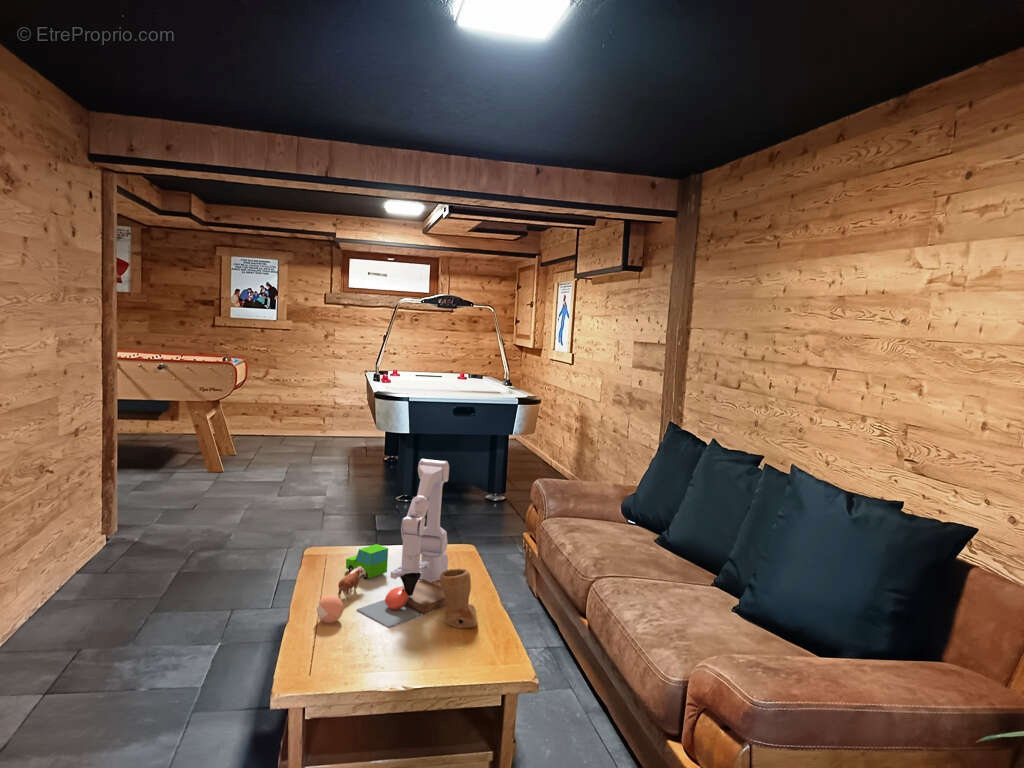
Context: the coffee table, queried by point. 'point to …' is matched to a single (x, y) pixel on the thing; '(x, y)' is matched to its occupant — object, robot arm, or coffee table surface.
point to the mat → (388, 614)
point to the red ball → (396, 598)
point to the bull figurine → (350, 582)
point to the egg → (330, 608)
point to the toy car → (370, 561)
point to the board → (426, 597)
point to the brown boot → (458, 598)
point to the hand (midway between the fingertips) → (408, 594)
